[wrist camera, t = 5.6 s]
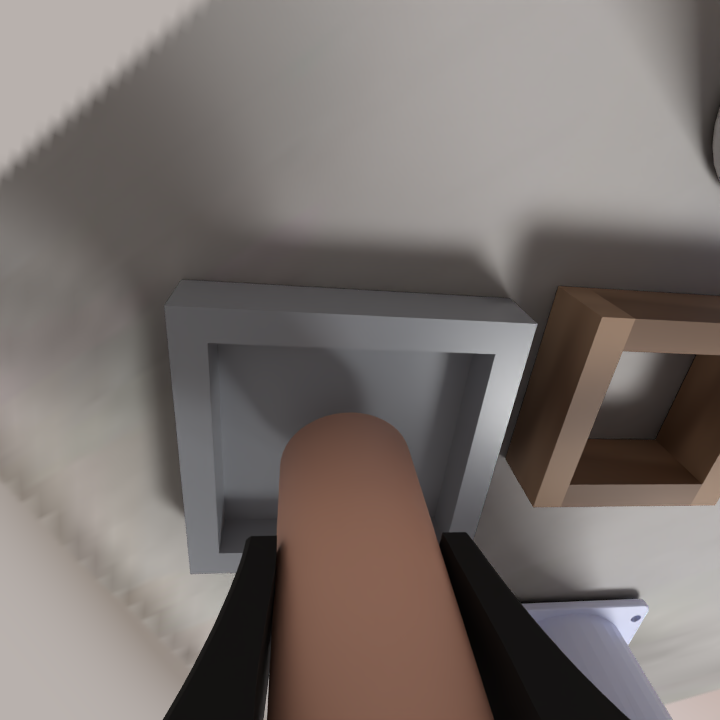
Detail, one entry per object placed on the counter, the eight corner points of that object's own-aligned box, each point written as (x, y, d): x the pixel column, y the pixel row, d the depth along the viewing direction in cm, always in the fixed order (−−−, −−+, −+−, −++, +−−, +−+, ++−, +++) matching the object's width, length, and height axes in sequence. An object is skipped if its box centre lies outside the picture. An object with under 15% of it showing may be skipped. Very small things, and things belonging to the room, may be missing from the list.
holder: (668, 459, 19) (714, 505, 17) (505, 458, 18) (533, 507, 16) (750, 297, 16) (821, 328, 14) (558, 285, 15) (602, 317, 13)
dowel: (399, 513, 16) (479, 836, 9) (278, 513, 15) (261, 861, 8) (419, 414, 14) (539, 723, 7) (282, 410, 13) (264, 745, 6)
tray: (451, 524, 20) (465, 565, 18) (201, 529, 18) (190, 574, 17) (510, 298, 15) (537, 323, 13) (181, 279, 14) (163, 305, 12)
